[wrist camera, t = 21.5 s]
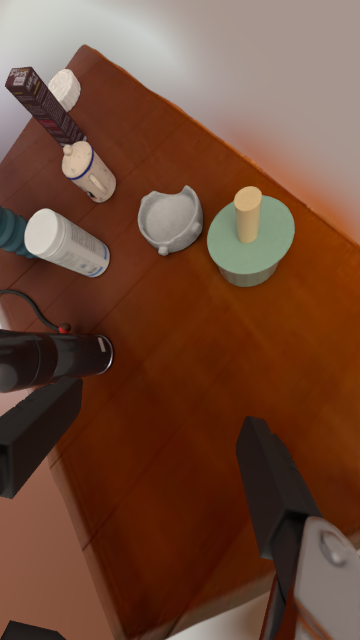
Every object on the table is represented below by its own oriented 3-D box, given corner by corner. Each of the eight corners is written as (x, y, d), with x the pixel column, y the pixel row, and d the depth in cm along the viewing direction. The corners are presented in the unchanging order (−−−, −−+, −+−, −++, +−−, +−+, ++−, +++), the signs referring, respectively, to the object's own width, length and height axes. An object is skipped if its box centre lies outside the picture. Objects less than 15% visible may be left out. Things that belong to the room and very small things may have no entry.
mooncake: (81, 74, 61) (72, 58, 58) (80, 105, 60) (70, 90, 56) (54, 92, 65) (44, 78, 62) (53, 121, 64) (42, 109, 60)
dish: (144, 212, 47) (132, 198, 42) (197, 187, 42) (191, 168, 38) (153, 266, 44) (141, 257, 39) (211, 245, 40) (206, 232, 35)
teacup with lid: (86, 191, 54) (45, 154, 44) (107, 166, 53) (70, 121, 42) (105, 217, 51) (66, 182, 40) (128, 191, 49) (94, 148, 38)
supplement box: (88, 137, 57) (31, 64, 42) (81, 152, 57) (23, 85, 42) (69, 135, 60) (11, 66, 45) (63, 149, 60) (3, 86, 45)
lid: (195, 259, 32) (177, 232, 24) (230, 192, 31) (224, 140, 23) (266, 288, 28) (274, 267, 20) (309, 211, 27) (335, 156, 19)
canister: (208, 273, 39) (197, 256, 31) (234, 223, 39) (230, 192, 31) (261, 296, 35) (264, 282, 27) (291, 241, 35) (304, 210, 27)
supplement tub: (90, 240, 52) (33, 203, 38) (116, 247, 48) (64, 209, 35) (78, 273, 52) (17, 249, 38) (103, 282, 49) (46, 259, 35)
